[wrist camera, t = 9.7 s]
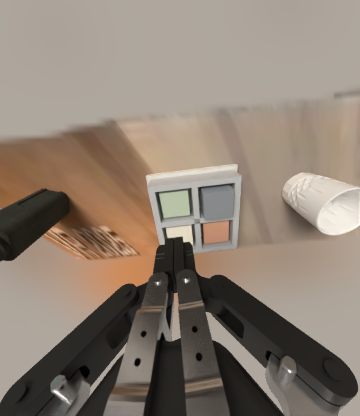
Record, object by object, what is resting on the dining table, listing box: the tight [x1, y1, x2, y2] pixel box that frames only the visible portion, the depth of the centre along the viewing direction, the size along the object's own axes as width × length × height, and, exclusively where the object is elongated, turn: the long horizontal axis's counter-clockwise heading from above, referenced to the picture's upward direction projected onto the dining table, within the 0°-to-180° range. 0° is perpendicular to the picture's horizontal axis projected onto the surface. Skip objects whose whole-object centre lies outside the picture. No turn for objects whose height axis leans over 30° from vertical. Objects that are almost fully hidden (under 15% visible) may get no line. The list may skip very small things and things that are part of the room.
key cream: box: [166, 225, 193, 245], centre depth 33 cm, size 5×5×3 cm
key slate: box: [200, 184, 234, 220], centre depth 28 cm, size 5×5×3 cm
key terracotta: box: [201, 220, 229, 244], centre depth 33 cm, size 5×5×3 cm
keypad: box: [146, 164, 242, 254], centre depth 31 cm, size 16×16×5 cm
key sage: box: [159, 189, 190, 218], centre depth 30 cm, size 5×5×3 cm
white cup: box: [282, 173, 360, 235], centre depth 28 cm, size 8×8×10 cm
